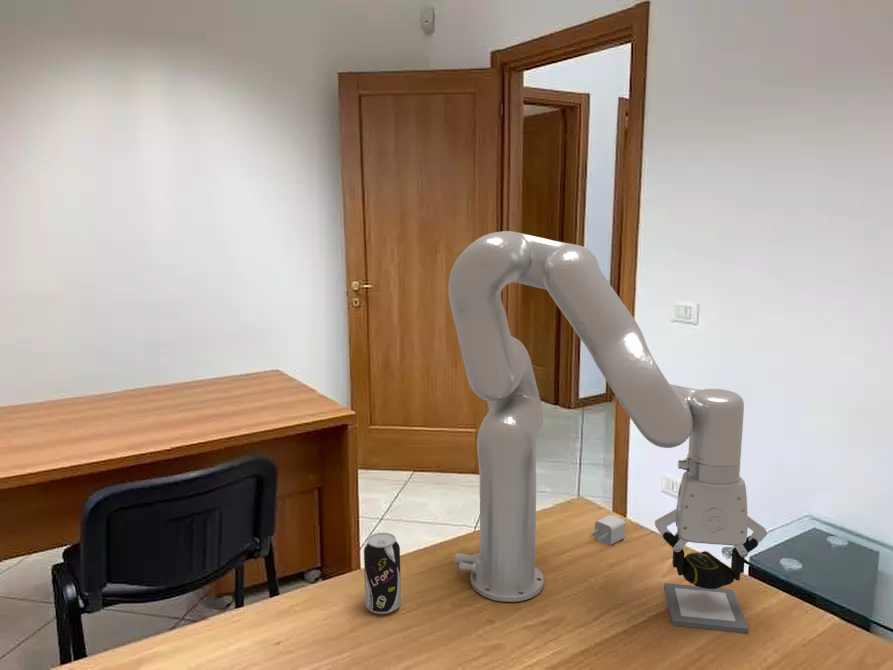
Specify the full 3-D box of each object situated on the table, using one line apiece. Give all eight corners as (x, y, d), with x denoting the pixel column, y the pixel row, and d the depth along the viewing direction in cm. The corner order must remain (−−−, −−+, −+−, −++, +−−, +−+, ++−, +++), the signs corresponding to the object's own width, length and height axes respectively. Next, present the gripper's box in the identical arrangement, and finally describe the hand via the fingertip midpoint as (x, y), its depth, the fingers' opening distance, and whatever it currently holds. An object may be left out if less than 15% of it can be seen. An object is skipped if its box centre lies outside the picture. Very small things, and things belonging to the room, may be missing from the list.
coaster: (672, 625, 105) (672, 620, 105) (664, 587, 116) (664, 582, 115) (747, 633, 103) (748, 628, 103) (732, 593, 114) (732, 588, 113)
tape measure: (735, 590, 106) (737, 568, 106) (698, 596, 104) (700, 574, 104) (707, 568, 113) (709, 547, 112) (672, 574, 111) (673, 553, 110)
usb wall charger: (624, 539, 132) (625, 520, 132) (602, 551, 128) (603, 531, 127) (607, 532, 135) (608, 513, 135) (586, 543, 131) (586, 524, 130)
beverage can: (365, 618, 107) (363, 548, 105) (366, 598, 113) (363, 531, 111) (401, 616, 108) (400, 546, 106) (400, 596, 113) (399, 529, 111)
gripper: (657, 475, 103) (652, 581, 106) (780, 482, 100) (772, 591, 103) (652, 457, 110) (648, 557, 113) (767, 463, 107) (759, 566, 110)
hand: (707, 573), depth 108 cm, fingers closed on tape measure, 7 cm apart
